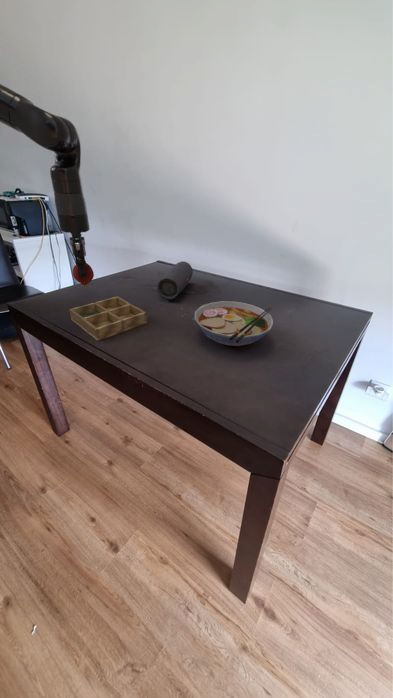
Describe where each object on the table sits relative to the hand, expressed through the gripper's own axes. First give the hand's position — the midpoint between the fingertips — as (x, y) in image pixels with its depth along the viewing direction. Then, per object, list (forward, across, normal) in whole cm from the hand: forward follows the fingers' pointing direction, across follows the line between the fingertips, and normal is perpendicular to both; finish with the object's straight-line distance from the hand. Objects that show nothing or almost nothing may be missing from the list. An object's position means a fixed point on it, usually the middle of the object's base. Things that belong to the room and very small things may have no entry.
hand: (83, 273), depth 84 cm
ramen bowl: (+15, +24, +39) cm, 48 cm away
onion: (+4, 0, 0) cm, 4 cm away
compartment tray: (+15, +3, +5) cm, 17 cm away
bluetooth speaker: (+15, -16, +34) cm, 41 cm away
